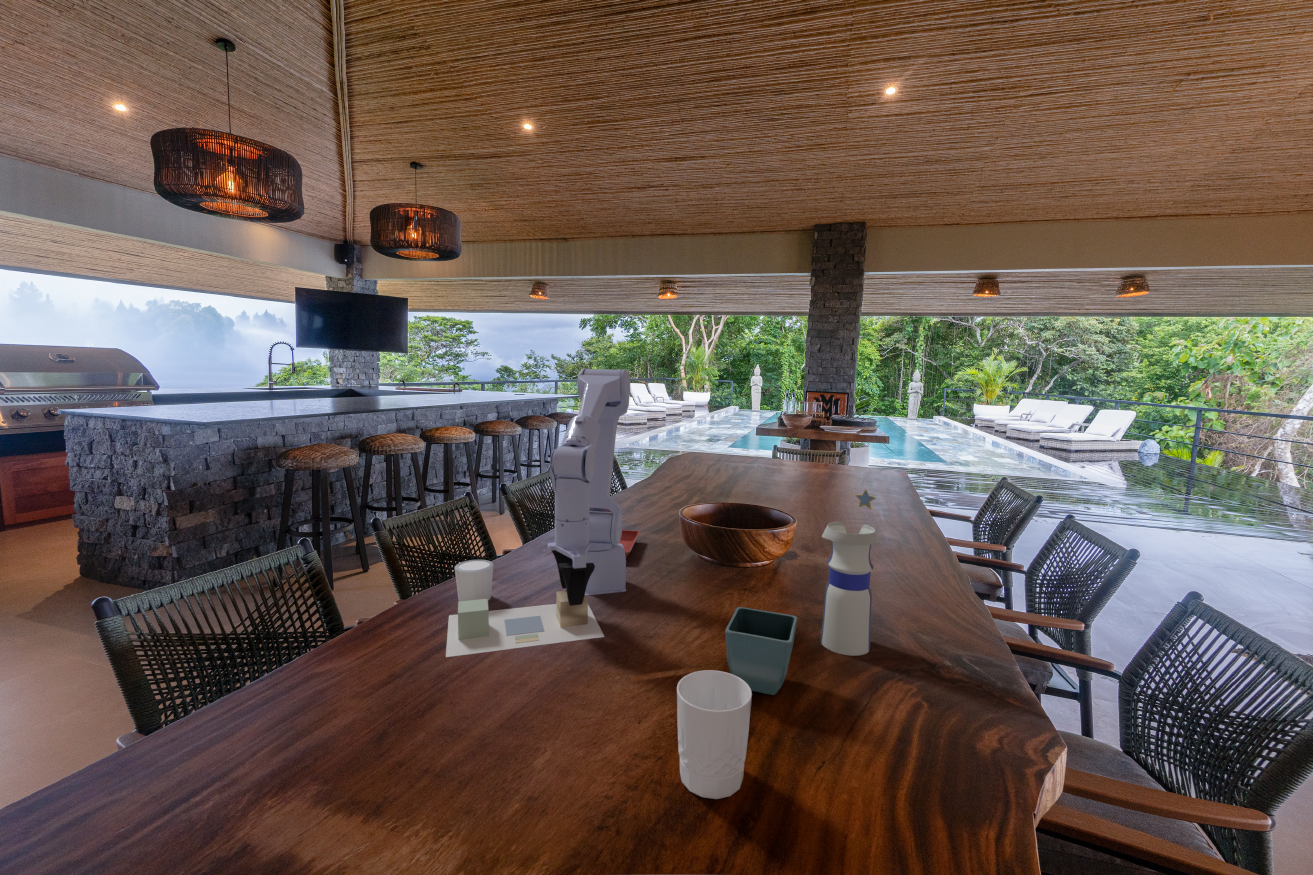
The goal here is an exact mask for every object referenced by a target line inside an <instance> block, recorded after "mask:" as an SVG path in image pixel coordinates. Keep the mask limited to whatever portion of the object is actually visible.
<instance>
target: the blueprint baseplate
mask: <svg viewBox="0 0 1313 875" xmlns="http://www.w3.org/2000/svg"><path fill="white" fill-rule="evenodd" d="M447 622H448V624H447V635H446V636H447V637H446V649H445V658H452V657H459V656H469V655H474V654H483V653H484V654H485V653H490V652H491V653H492V652H497V651H498V652H500V651H506V650H507V651H508V650H513V649H521V648H530V647H537V646H545V645H552V644H553V645H554V644H561V643H570V642H576V641H577V642H578V641H583V640H590V639H591V640H592V639H599V638H605V634H604V632H603V631H602V629H601V627H600V625H599V623H598V621H597V619H596V617H595V615H594V613H593V611H592V609H591V607H590V605H589V604H588V624H585V625H576V626H568V627H560V625H559V622H558V619H557V616H556V603H553V604H552V603H551V604H550V603H549V604H542V605H534V606H532V605H531V606H524V607H523V606H522V607H515V608H514V607H513V608H504V609H497V610H489V636H485V637H477V638H469V639H461V640H458V613H457V614H449V615H448V621H447Z"/></svg>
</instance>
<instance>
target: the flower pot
mask: <svg viewBox="0 0 1313 875" xmlns="http://www.w3.org/2000/svg"><path fill="white" fill-rule="evenodd" d="M797 624H798V617H797V615H792V614H787V613H780V612H773V611H767V610H763V609H762V610H761V609H755V608H751V607H750V608H749V607H742V606H738V607H736V609H735V610H734V613H733V615H732V616H731V619H730V620H729V622H728V625H727V626H726V627H725V645H726V646H725V647H726V660H727V665H728V668H729V672H730V674H733V675H735V676H737V677H739V678H741V679H742V680H744V681H745V682H746V683H747V684H748V685H749V687H750V688H751V691H752V692H757V693H762V694H765V695H771V696H775V695H776V694H777V693H778V692H779V690H780V689H781V688H782V687H783V684H784V682H785V680H786V677H787V673H788V669H789V664H790V660H791V655H792V652H793V647H794V643H795V642H794V641H795V635H796V630H797Z"/></svg>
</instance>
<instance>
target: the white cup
mask: <svg viewBox="0 0 1313 875" xmlns="http://www.w3.org/2000/svg"><path fill="white" fill-rule="evenodd" d="M752 692H753V691H751V688H750V687H749V685H748V684H747V683H746V682H745V681H744V680H742V679H741V678H739V677H737V676H735V675H733V674H731V673H729V672H726V671H722V670H721V671H720V670H714V669H713V670H712V669H709V670H708V669H707V670H696V671H694V672H691V673H688V674H687V675H684V676H683V677H682V678H681V679H680V680H679V681H678V682H677V686H676V705H677V706H676V711H677V713H676V718H677V720H676V721H677V723H676V724H677V725H676V726H677V743H678V744H677V745H678V746H677V748H678V749H677V750H678V755H679V775H680V780H681V783H682V785H684V786H685V787H686V789H687V790H688V791H689V792H690V793H693V794H694V795H696V796H699V797H701V798H705V799H713V800H719V799H724V798H727V797H728V798H729V797H731V796H732V795H734V794H735V793H736V792H738V791H739V790H740V789H741V786H742V783H743V780H744V772H745V770H744V769H745V762H746V757H747V747H748V739H749V732H750V730H749V729H750V719H751V718H750V717H751V708H752V696H753V693H752Z"/></svg>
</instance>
